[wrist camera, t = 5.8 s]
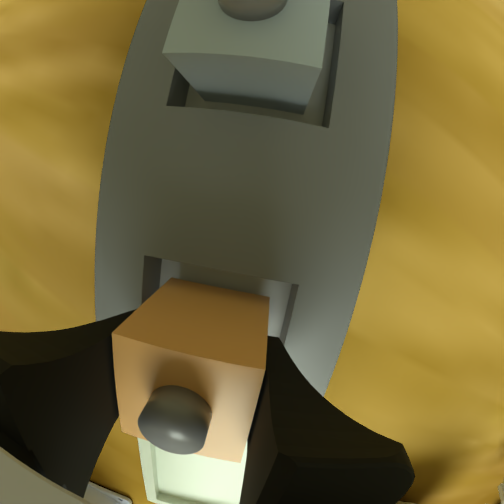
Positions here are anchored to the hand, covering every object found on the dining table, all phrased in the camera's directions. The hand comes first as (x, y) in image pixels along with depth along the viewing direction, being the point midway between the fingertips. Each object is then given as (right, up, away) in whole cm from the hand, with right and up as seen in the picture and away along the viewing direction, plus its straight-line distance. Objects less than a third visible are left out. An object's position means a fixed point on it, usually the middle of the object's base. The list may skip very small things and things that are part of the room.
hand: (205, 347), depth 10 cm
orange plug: (0, 0, +2) cm, 2 cm away
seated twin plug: (+2, +11, 0) cm, 11 cm away
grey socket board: (+1, +6, +2) cm, 6 cm away
